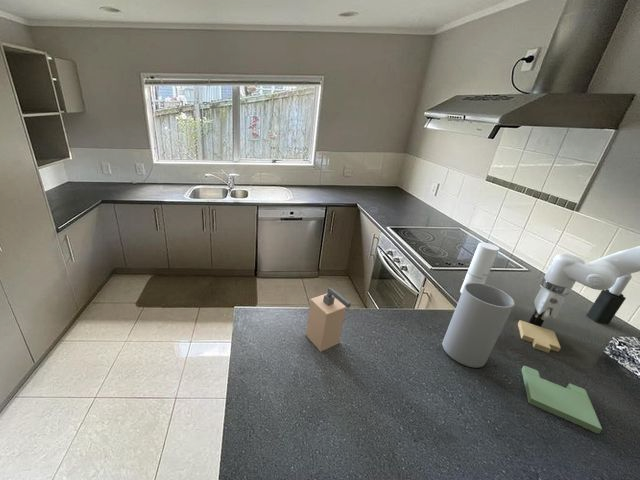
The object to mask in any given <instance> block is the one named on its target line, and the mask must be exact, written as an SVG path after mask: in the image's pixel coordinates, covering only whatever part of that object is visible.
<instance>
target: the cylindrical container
mask: <svg viewBox="0 0 640 480" xmlns="http://www.w3.org/2000/svg"><path fill="white" fill-rule="evenodd" d="M499 252H500V247H499V246H497V245H495V244H493V243H489V242H483V241H482V242H478V244H477V247H476V250H475V251H474V254H473V257H472V259H471V261H470V264H469V267H468V269H467V272H466V275H465V277H464V280H463V282H462V285H461V287H460V290H459V292H460V295H461V294H462V291H463V289H464V286H465V284H467V283H482V284H486V282H487V279H488V277H489V275H490V272H491V270H492V267H493V266H494V263H495V260H496V258H497V256H498V253H499Z"/></svg>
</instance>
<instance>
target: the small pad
mask: <svg viewBox="0 0 640 480" xmlns="http://www.w3.org/2000/svg"><path fill="white" fill-rule="evenodd" d="M517 327H518V331H519V335H520V339H521V340H523V341H526V342H529V343H532V348H533V349H536V350H538V351H541V352H544V353H548V354H549V353H550V351H553V352H557V353H559V352H560V351H561V345H560V342H559V339H558V337H557V334H556V332H555V331H554V330H551V329H549V328H545V327H542V326H541V327H539V326H536V325H533V324H530V323H529V322H527V321H524V320H521V319H519V321H518V322H517Z"/></svg>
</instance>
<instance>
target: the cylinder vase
mask: <svg viewBox="0 0 640 480" xmlns="http://www.w3.org/2000/svg"><path fill="white" fill-rule="evenodd" d="M515 304H516V303H515V300H514V299H513V297H512V296H510V295H509V294H508V293H506V292H505V291H503V290H501V289H499V288H497V287H495V286H492V285H489V284H486V283H485V284H482V283H467V284H465V286H464V289H463V291H462V294H461V293H460V297H459V299H458V301H457V305H456V306H455V309H454V312H453V314H452V317H451V318H450V319H451V320H450V321H449V324H448V327H447V329H446V332H445V335H444V338H443V340H442V348H443V350H444V352H445V353H446V354H447V355H448V356H449V357H450V358H451V359H452V360H454V361H455V362H456V363H459V364H461V365H463V366H466V367H469V368H482V367H485V364H486V363H487V361H488V359H489V357H490V355H491V353H492V351H493V349H494V347H495V345H496V343H497V341H498V339H499V336H500V335H501V332H502V330H503V329H504V326H505V324H506V322H507V320H508V318H509V317H510V314H511V313H512V310H513V309H514V306H515Z"/></svg>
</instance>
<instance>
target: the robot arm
mask: <svg viewBox="0 0 640 480" xmlns="http://www.w3.org/2000/svg"><path fill="white" fill-rule="evenodd" d="M639 272H640V245H637V246H634V247H631V248H627V249H624V250H619V251H617V252H613V253H611V254H608V255H605V256H602V257H600V258H599V257H598V258H597V259H595V260H592V261H590V262H588V263H587V264H586V262H585V261H584V260H583V259H582V258H580V257H578V256H576V255H572V254H568V253H557V254H556V255H555V256H554V257H553V259H552V262H551V263H550V265H549V267H548V269H547V271H546V273H545V275H544V276H543V279H542V280H541V282H540V284H539V286H540V287H541V288H540V289H539V291H538V293H537V294H536V296H535V298H534V303H533V304H534V306H535V309H534V311H533V314H532V315H531V317H530V319H529V321H528V323H530V324H533V325H536V326H539V327H542V325H543V323H544V322H545V321H548V318H549V316H550V318H551V319H553V320H554V319H555V320H556V319H557V317H558V315H559V312H560V311H561V308H562V306H563V304H564V301H565V298H566V296H569V294H570V292H571V291H572V289H573V287H574V285H575V284H576V283H579V284H581V285H583V286H585V287H587V288H589V289H593V290H597V291H602V290H606V289H608V290H610V289H611V287H612V286H613V285H614V284H615V282H616V279H617V278H618V277H621V276H625V275H628V274H631V275H632V274H635V273H639Z"/></svg>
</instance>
